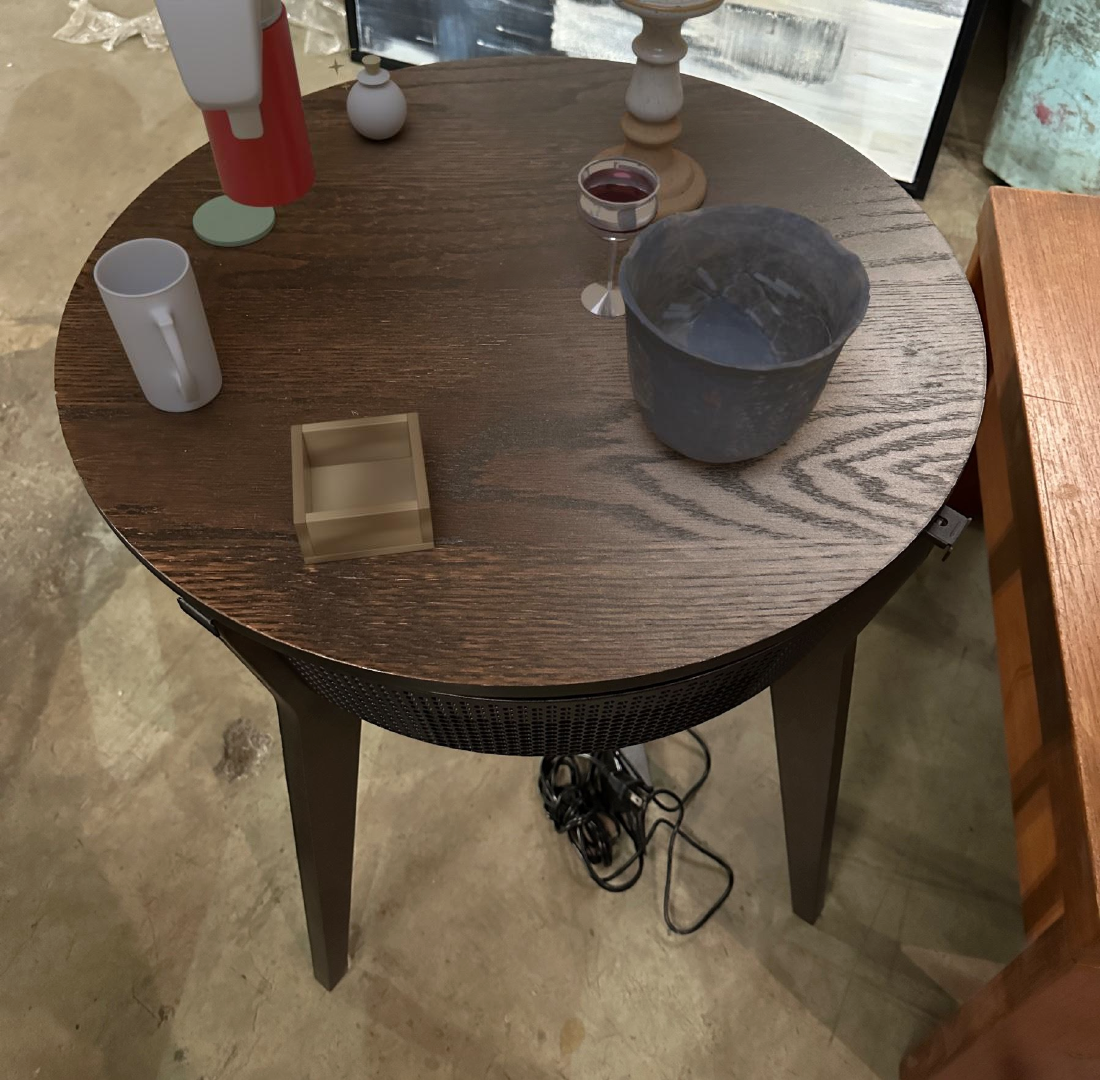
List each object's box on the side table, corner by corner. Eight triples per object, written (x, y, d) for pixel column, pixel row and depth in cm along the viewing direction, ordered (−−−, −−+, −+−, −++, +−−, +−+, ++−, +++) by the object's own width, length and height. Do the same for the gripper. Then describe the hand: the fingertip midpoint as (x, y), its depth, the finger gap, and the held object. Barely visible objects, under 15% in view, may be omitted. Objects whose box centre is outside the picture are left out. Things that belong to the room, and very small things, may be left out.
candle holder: (579, 153, 106) (589, -55, 90) (697, 153, 107) (728, -54, 91) (586, 226, 99) (599, 13, 83) (713, 225, 99) (750, 14, 83)
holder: (305, 565, 74) (293, 523, 70) (301, 468, 79) (290, 425, 75) (434, 549, 75) (430, 507, 71) (422, 455, 80) (417, 411, 77)
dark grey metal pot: (845, 511, 78) (904, 364, 66) (614, 518, 77) (632, 370, 65) (797, 351, 89) (841, 200, 77) (594, 355, 88) (606, 203, 76)
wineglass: (566, 276, 94) (571, 158, 85) (639, 272, 95) (652, 154, 85) (576, 325, 90) (583, 207, 80) (652, 321, 91) (668, 202, 81)
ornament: (416, 145, 106) (407, 49, 98) (345, 158, 105) (331, 62, 97) (400, 115, 110) (390, 20, 102) (331, 127, 108) (316, 32, 100)
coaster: (192, 250, 95) (190, 244, 95) (195, 201, 100) (193, 196, 99) (276, 243, 96) (275, 237, 96) (275, 195, 100) (274, 190, 100)
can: (219, 210, 67) (172, 33, 57) (222, 156, 70) (178, -18, 61) (316, 203, 67) (284, 27, 58) (314, 150, 71) (284, -23, 62)
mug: (132, 372, 85) (84, 252, 76) (212, 348, 87) (175, 228, 78) (164, 453, 80) (116, 335, 70) (248, 426, 82) (213, 307, 72)
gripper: (146, -221, 59) (205, 21, 70) (113, -67, 47) (190, 198, 58) (258, -225, 60) (299, 16, 71) (254, -73, 48) (304, 189, 59)
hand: (250, 99), depth 64 cm, fingers closed on can, 6 cm apart
